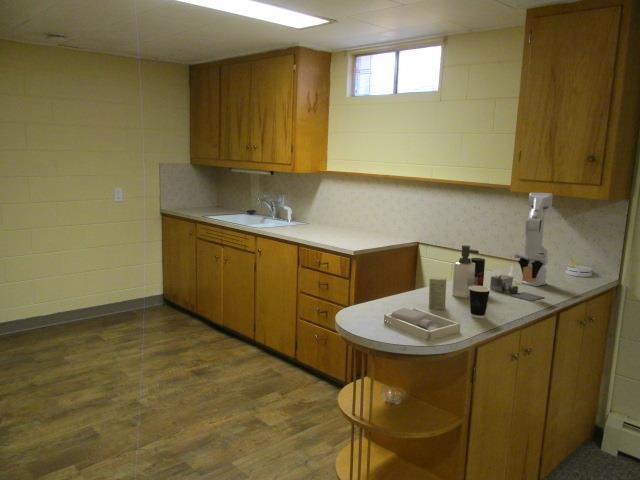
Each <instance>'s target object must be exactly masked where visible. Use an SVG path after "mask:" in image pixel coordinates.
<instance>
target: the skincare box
mask: <svg viewBox="0 0 640 480" xmlns="http://www.w3.org/2000/svg"><path fill="white" fill-rule="evenodd" d="M428 289H429V291H428V309H431V310H432V309H434V310H435V309H436V310H443V311H445V309H446V299H447V297H446V295H447V293H446V292H447V277H437V276H431V277H429V288H428Z"/></svg>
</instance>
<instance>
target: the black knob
mask: <svg viewBox="0 0 640 480" xmlns="http://www.w3.org/2000/svg"><path fill="white" fill-rule="evenodd" d="M507 292H508V294H511V295H514V294H518V293H519V286H518V285H513V284H512V285H509V289H508V291H507Z"/></svg>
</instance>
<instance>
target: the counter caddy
mask: <svg viewBox="0 0 640 480" xmlns="http://www.w3.org/2000/svg"><path fill="white" fill-rule="evenodd" d="M409 309H410V310H414V311H418V312H422V313H426V315H427V320H431V321H433V324H436V326H437V325H438V326H440V327H438V328H434V329H432V330H428V329H427V328H426V329H425V328H424V327H421V328H420V327H418V326H415V325H412V324H410V323H407V322H404V321H402V320H399V319H396V318H394V317H391V314H392V313H393V312H391V313H387V314H384V315H383V324H386V325H389V326H391V327H394V328H396V329H399V330H401V331H404V332H406V333H409V334H411V335H414V336H417V337H419V338H420V339H424V340H427V341H428V342H429V341H432V340H436V339H439V338H442V337H446V336H451V335H453V334H457V333H460V332H461V323H459V322H456V321H454V320H450V319H448V318H445V317H442V316H439V315H437V314H434V313H430V312H427V311H425V310H422V309H419V308H416V307H414V308H413V307H412V308H409ZM385 320H386V321H385ZM387 321H388V322H387ZM390 322H391V323H390Z"/></svg>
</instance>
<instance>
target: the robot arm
mask: <svg viewBox="0 0 640 480" xmlns="http://www.w3.org/2000/svg"><path fill="white" fill-rule="evenodd" d="M553 198H554V196H553V193H552V192H550V193H549V192H530V193H529V195H528V205H529V206H528V207H529V209H530V211H529V214H528V218H526V220H525V226H524V229H525V230H524V231H525V240H524V241H525V242H524V252H523V253H519V252H517V253H514V258H515V259H518V261H517V262H518V264H519V266H520V270H521V273H522V276H523V267H527V266H531V267H532V270H533V271H532V278H536V281H535V282H531V283H530V282H526V281H521V284H525V285H529V286H534V287H539V286H543V285H547V284H548V282H546V280H547V268H546V265H548V264H549V258H548V250H547V248H546V247H545V246H543V237H544V227H545V216H546V213H547V212H548V211H551V209H552V205H553Z"/></svg>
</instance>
